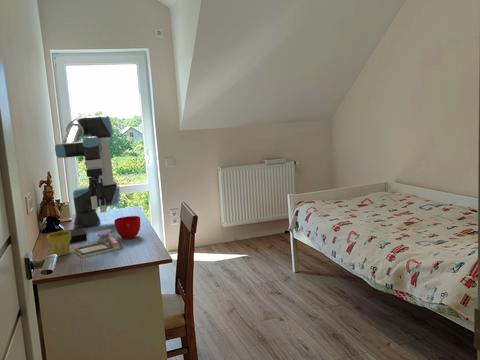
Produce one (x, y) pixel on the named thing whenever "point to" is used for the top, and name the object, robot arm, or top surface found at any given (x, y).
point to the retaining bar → (112, 241)
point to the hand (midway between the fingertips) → (99, 210)
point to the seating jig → (97, 248)
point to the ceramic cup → (128, 226)
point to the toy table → (103, 235)
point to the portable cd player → (77, 235)
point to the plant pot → (60, 242)
